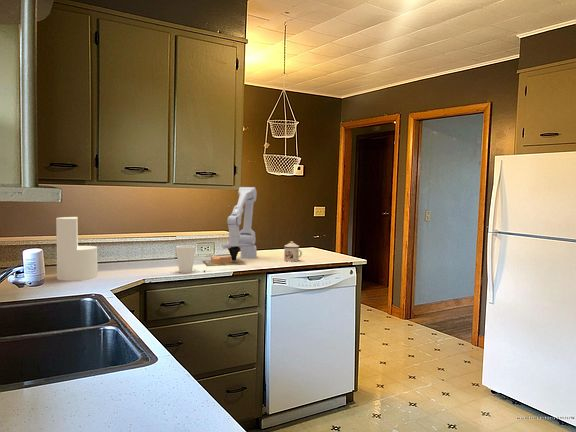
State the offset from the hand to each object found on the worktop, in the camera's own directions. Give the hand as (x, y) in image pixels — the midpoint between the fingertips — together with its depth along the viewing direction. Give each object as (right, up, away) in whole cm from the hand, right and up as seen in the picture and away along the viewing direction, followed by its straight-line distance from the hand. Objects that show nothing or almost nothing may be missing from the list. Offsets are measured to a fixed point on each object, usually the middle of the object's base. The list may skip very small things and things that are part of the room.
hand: (233, 260), depth 253 cm
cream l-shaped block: (-68, -4, -43) cm, 81 cm away
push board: (-6, -2, -2) cm, 6 cm away
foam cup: (-22, -4, -25) cm, 34 cm away
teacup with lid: (+34, -2, +15) cm, 37 cm away
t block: (-7, -1, -1) cm, 7 cm away
